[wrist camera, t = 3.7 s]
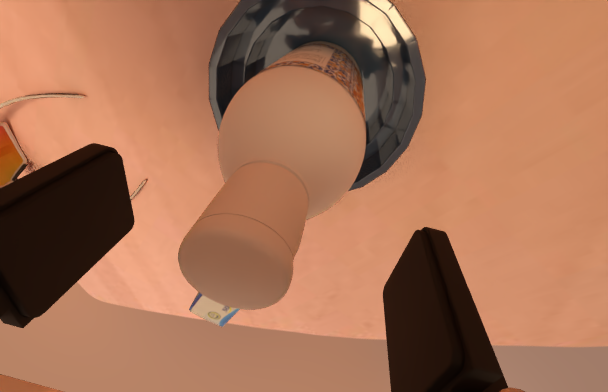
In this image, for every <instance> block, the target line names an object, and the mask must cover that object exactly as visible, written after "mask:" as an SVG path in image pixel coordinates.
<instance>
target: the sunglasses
mask: <svg viewBox="0 0 608 392" xmlns="http://www.w3.org/2000/svg"><path fill="white" fill-rule="evenodd" d="M47 97H68V98H85V96H84V95H79V94H65V93H48V94H37V95H28V96H23V97H18V98H15V99H12V100H9V101H6V102H4V103H1V104H0V109H1V108H3V107H5V106H7V105H10V104H12V103H15V102H18V101H22V100H26V99H34V98H47ZM26 163H27V159H26V157H25V155H24V154H23V152H22V150H21V148H20V147H19V145H18V143H17V141H16V139H15V137H14V135H13V134H12V132H11V130H10V128H9V126H8V124H7V123H5V122H0V188H2V187H4V186H6V185H8V184H10V183H12V182H14V181H16V180H18V179H17V177H18V176H19V175H20V174H21V172H22V171H23V170H24V169H25V168H26V166H27V164H26ZM145 183H146V180H144V181H143V182H142V183H141V185H140V186H139V187H138V188H137V190H136V191H135V192H134V193H133V194H132V195H131V196H130V200H132V198H133V197H134V196H135V195H136V194H137V193H138V192H139V191H140V190H141V188H142V187H143V186H144V184H145Z"/></svg>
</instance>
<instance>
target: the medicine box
mask: <svg viewBox="0 0 608 392" xmlns="http://www.w3.org/2000/svg"><path fill="white" fill-rule="evenodd" d="M189 310H190V312H192V313H194V314H196V315H198V316H200V317H201V318H203V319H205V320H207V321H210V322H212V323H214V324H217V325H219V326H224V325H225V324H226V323H227V322H228V321H229V320H230V319H231V318H232V317H233V316H234V315H235V314H236V313H237V312H238V311H239V310H240V309H237V308H232V307H228V306H225V305H222V304H219V303H217V302H215V301H213V300H211V299H209V298H207V297H205V296H204V295H202V294H201V293H200V292H198V294H197V296H196V297H195V299H194V301H193V303H192V305H191V307H190V309H189Z"/></svg>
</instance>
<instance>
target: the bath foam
mask: <svg viewBox="0 0 608 392" xmlns="http://www.w3.org/2000/svg"><path fill="white" fill-rule="evenodd" d="M366 141H367V135H366V121H365V107H364V93H363V83H362V76H361V72H360V69H359V67H358V65H357V63H356V61H355V60H354V58H353V57H352V56H351V55H350V54H349V53H348V52H347V51H346V50H345V49H344V48H342V47H340V46H338V45H336V44H333V43H330V42H325V41H313V42H309V43H306V44H303V45H301V46H299V47H298V48H296V49H294V50H292V51H291V52H289V53H288V54H286V55H285V56H283V57H282V58H280V59H279V60H277V61H276V62H274V63H273V64H271V65H270V66H268V67H267V68H265V69H264V70H262V71H261V72H259V73H258V74H256V75H255V76H253V77H252V78H250V79H249V80H248V81H247V82H246V83H245V84H244V85H243V86H242V87H241V88H240V89H239V90H238V92H237V93H236V94H235V96H234V97H233V99H232V100H231V102H230V103H229V105H228V107H227V109H226V111H225V113H224V116H223V119H222V122H221V125H220V129H219V135H218V158H219V164H220V169H221V172H222V175H223V178H224V181H225V184H224V186H223V187H222V188H221V190H220V191H219V192H218V193H217V195H216V196H215V197H214V199H213V200H212V201H211V203H210V204H209V205H208V207H207V208H206V209H205V211H204V212H203V213H202V215H201V216H200V217H199V219H198V220H197V221H196V223H195V224H194V225H193V227H192V228H191V229H190V231H189V232H188V233H187V235H186V236H185V238H184V239H183V241H182V243H181V245H180V248H179V253H178V261H179V266H180V269H181V271H182V273H183V275H184V277H185V278H186V280H187V281H188V282H189V283H190V284H191V285H192V286H193V287H194V288H195V289H196V290H197V291H198V292H200V293H201V294H202V295H204V296H205V297H207V298H209V299H211V300H213V301H215V302H217V303H219V304H222V305H225V306H228V307H232V308H237V309H245V310H255V309H262V308H266V307H269V306H271V305H273V304H275V303H277V302H278V301H279V300H281V299H282V298H283V296H284V295H285V294H286V292H287V290H288V288H289V286H290V283H291V280H292V275H293V260H294V256H295V254H296V253H297V250H298V248H299V245H300V242H301V238H302V234H303V230H304V226H305V222H306V220H308V219H310V218H313V217H315V216H317V215H319V214H321V213H323V212H325V211H326V210H328V209H329V208H331V207H332V206H333V205H335V204H336V203H337V202H338V201H339V200H340V199H341V198H342V197H343V196H344V195H345V194H346V193H347V192H348V190H349V189H350V187H351V186H352V184H353V183H354V181H355V179H356V177H357V175H358V173H359V171H360V168H361V165H362V162H363V159H364V154H365V150H366Z"/></svg>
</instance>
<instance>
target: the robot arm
mask: <svg viewBox="0 0 608 392" xmlns="http://www.w3.org/2000/svg"><path fill="white" fill-rule="evenodd" d="M133 225H134V215H133V210H132V205H131V200H130V195H129V190H128V185H127V180H126V175H125V170H124V165H123V160H122V157H121V156H120V155H119V154H118V152H117V151H116V149H114V148H112V147H108V146H104V145H100V144H95V143H92V144H89V145H87V146H85V147H83V148H81V149H79V150H77V151H75V152H73V153H71V154H69V155H67V156H65V157H63V158H61V159H59V160H57V161H55V162H53V163H50V164H48V165H46V166H44V167H42V168H40V169H38V170H36V171H34V172H32V173H30V174H28V175H26V176H24V177H22V178H20V179H18V180H16V181H14V182H12V183H10V184H8V185H6V186H4V187H2V188H0V319H1V320H2V321H3V323H5V324H9V325H13V326H16V327H20V328H24V327H25V326H26V325H27V324H28V323H29V322H30V321H31V320H32V319H33V318H35V317H39V316H41V315H42V314H43V313H45V312H46V311H47V310H48V309H49V308H50V307H51V306H52V305H53V304H54V303H55V302H56V301H57V300H58V299H59V298H60V297H61V296H62V295H64V294H65V293H66V292H67V291H68V290H69V289H70V288H71V287H72V286H73V285H74V284H75V283H76V282H77V281H78V280H79V279H80V278H81V277H82V276H83V275H84V274H85V273H87V272H88V271H89V270H90V269H91V268H92V267H93V266H94V265H95V264H96V263H97V262H98V261H99V260H100V259H101V258H102V257H103V256H104V255H105V254H106V253H107V252H108V251H109V250H111V249H112V248H113V247H114V246H115V245H116V244H117V243H118V242H119V241H120V240H121V239H122V238H123V237H124V236H125V235H126V234H127V233H128V232H129V231H130V230H131V229H132V227H133ZM383 302H384V314H385V325H386V337H387V348H388V360H389V371H390V383H391V392H525V391H522V390H521V389H515V388H508V386H507V383H506V381H505V378H504V376H503V373H502V371H501V368H500V366H499V363H498V361H497V358H496V356H495V353H494V351H493V348H492V346H491V343H490V341H489V338H488V336H487V333H486V331H485V328H484V326H483V323H482V321H481V318H480V316H479V313H478V311H477V308H476V306H475V303H474V301H473V298H472V296H471V293H470V291H469V288H468V286H467V284H466V281H465V279H464V276H463V274H462V271H461V269H460V266H459V264H458V261H457V259H456V256H455V254H454V251H453V249H452V246H451V244H450V241H449V239H448V236H447V234H446V232H444V231H440V230H436V229H432V228H428V227H424V228H423V229H422V230H421V231H420V230H416V231H415V232H414V234H413V236H412V238H411V239H410V241H409V243H408V245H407V247H406V248H405V250H404V252H403V254H402V256H401V257H400V259H399V261H398V263H397V265H396V266H395V268H394V270H393V272H392V273H391V275H390V277H389V279H388V281H387V282H386V284H385V286H384V290H383ZM0 392H63V391H60V390H56V389H52V388H49V387H45V386H42V385H38V384H35V383H31V382H27V381H24V380H20V379H16V378H13V377H9V376H5V375H2V374H0Z"/></svg>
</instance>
